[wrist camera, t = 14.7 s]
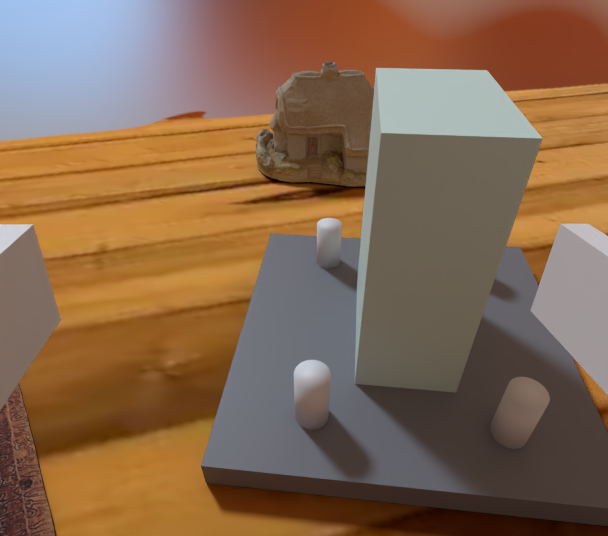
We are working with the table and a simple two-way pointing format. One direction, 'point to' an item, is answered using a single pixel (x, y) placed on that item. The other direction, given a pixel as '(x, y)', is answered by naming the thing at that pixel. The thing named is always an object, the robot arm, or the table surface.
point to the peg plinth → (404, 402)
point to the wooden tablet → (20, 475)
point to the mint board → (435, 220)
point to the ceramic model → (319, 129)
